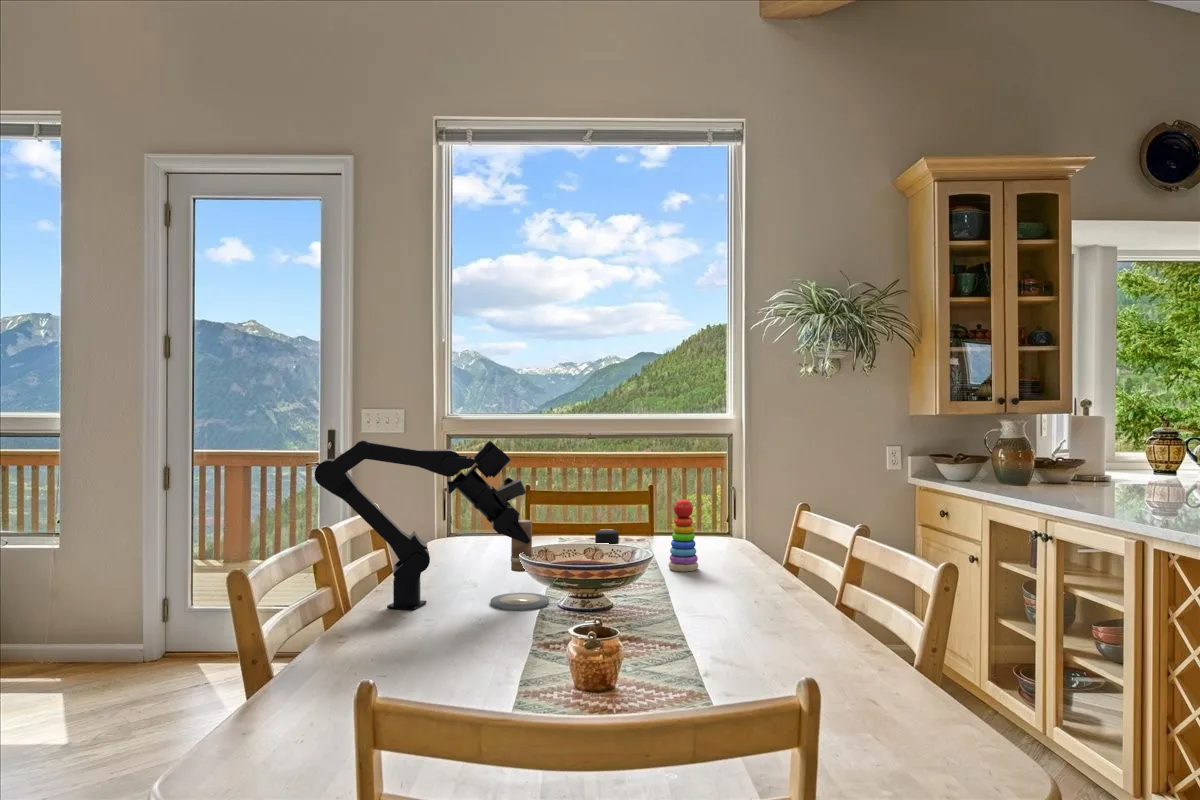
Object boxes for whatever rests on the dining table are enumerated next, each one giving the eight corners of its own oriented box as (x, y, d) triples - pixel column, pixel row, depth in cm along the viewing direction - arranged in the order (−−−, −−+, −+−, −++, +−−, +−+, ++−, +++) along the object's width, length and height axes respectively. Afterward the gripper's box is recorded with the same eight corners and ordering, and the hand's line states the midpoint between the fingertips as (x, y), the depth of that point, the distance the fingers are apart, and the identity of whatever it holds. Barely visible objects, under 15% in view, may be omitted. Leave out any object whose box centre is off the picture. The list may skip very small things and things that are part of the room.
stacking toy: (663, 567, 219) (663, 498, 219) (688, 565, 222) (688, 496, 222) (677, 573, 212) (678, 501, 211) (704, 570, 215) (704, 500, 215)
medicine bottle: (620, 580, 204) (620, 532, 204) (592, 579, 204) (592, 532, 204) (620, 573, 211) (620, 528, 211) (593, 573, 211) (593, 527, 211)
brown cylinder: (519, 572, 181) (519, 523, 181) (506, 569, 184) (507, 521, 184) (536, 569, 184) (536, 521, 184) (523, 566, 187) (523, 519, 187)
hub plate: (537, 612, 173) (537, 608, 173) (481, 608, 176) (481, 604, 176) (556, 598, 185) (556, 594, 185) (503, 594, 189) (503, 590, 189)
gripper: (509, 470, 174) (559, 520, 177) (500, 464, 192) (545, 509, 195) (472, 508, 172) (523, 558, 175) (466, 497, 190) (512, 543, 193)
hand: (527, 540), depth 184 cm, fingers closed on brown cylinder, 5 cm apart
